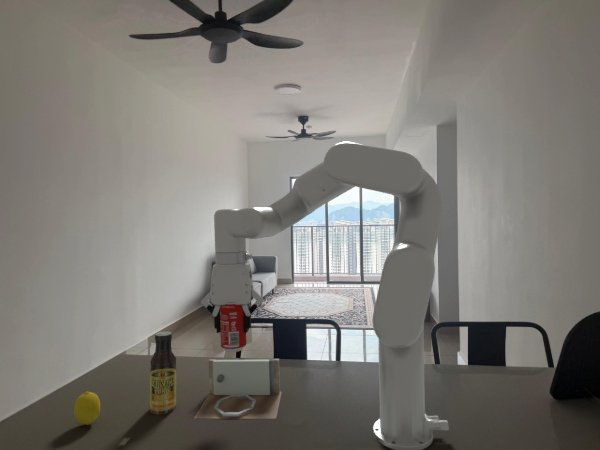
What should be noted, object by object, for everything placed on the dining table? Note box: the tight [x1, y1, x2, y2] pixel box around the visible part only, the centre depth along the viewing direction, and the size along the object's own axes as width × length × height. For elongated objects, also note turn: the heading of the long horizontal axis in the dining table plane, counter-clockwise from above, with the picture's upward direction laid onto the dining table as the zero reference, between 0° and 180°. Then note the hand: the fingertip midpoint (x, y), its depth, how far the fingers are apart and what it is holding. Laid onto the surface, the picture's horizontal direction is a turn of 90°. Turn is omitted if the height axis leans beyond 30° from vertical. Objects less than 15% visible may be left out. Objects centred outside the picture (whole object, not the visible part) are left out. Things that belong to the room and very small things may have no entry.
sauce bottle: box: [149, 330, 177, 415], centre depth 98 cm, size 6×6×20 cm
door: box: [213, 358, 275, 395], centre depth 103 cm, size 16×2×9 cm, turn 87°
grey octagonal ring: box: [214, 395, 256, 417], centre depth 97 cm, size 10×10×1 cm
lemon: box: [73, 391, 102, 426], centre depth 93 cm, size 6×6×8 cm
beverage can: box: [219, 303, 247, 353], centre depth 97 cm, size 6×6×12 cm
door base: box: [193, 358, 283, 420], centre depth 99 cm, size 20×14×10 cm
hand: (233, 330), depth 97 cm, fingers closed on beverage can, 6 cm apart
